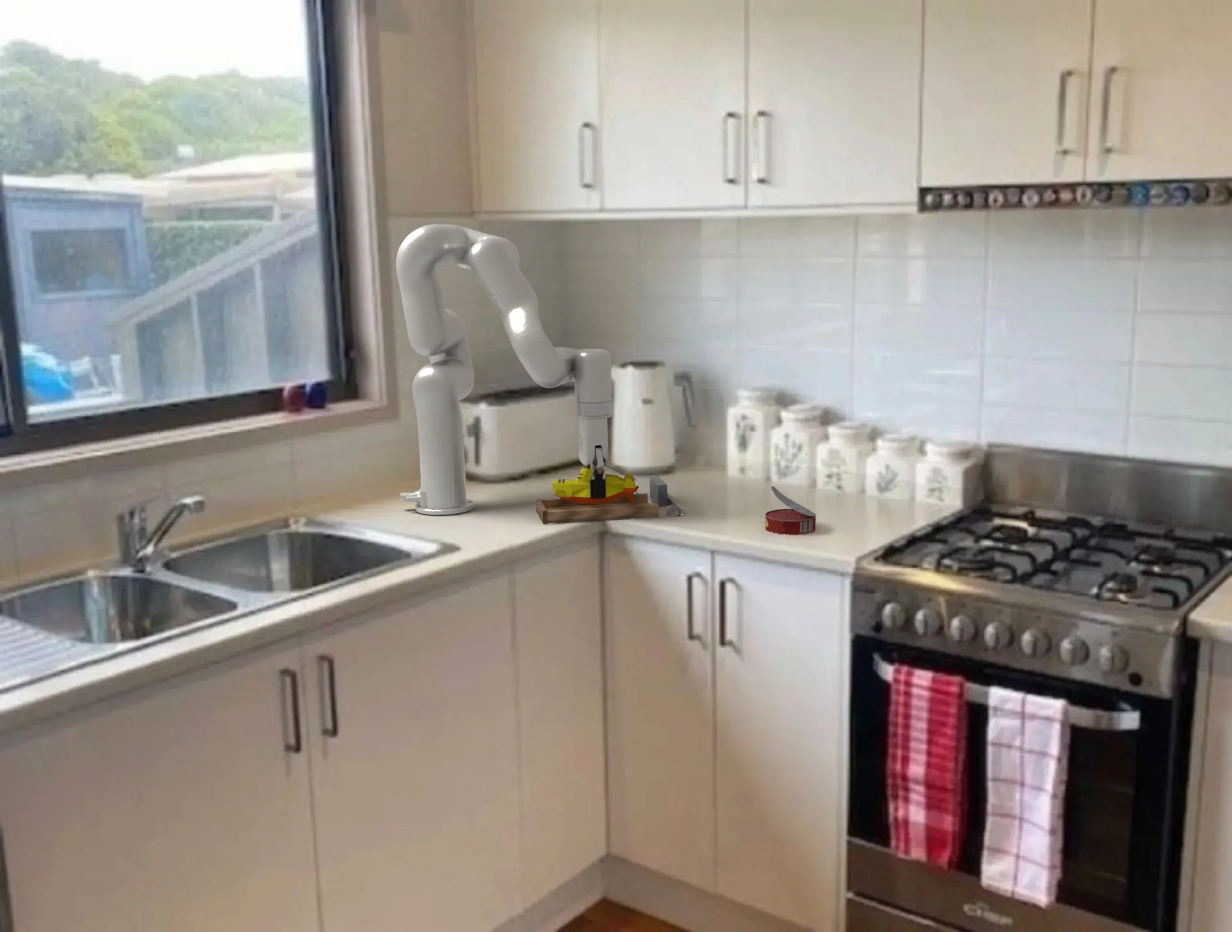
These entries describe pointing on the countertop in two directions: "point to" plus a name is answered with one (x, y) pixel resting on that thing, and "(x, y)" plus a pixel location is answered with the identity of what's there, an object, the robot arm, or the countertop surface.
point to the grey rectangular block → (658, 491)
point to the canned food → (790, 518)
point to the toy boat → (581, 488)
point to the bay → (601, 509)
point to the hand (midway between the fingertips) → (595, 493)
